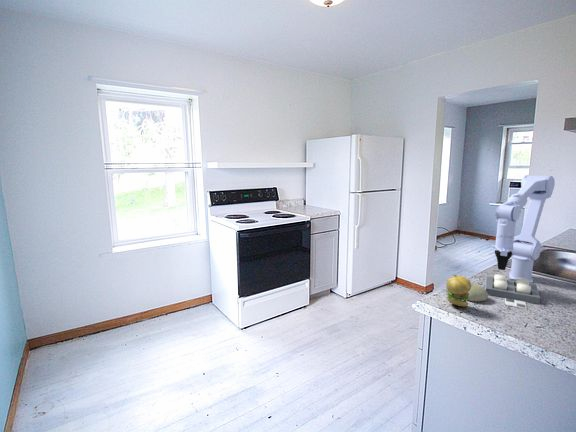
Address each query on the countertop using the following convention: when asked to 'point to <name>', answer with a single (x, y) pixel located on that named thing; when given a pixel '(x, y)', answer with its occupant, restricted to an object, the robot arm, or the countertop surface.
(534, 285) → the board
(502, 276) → the button
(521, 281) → the button
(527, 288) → the button
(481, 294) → the sea urchin shell
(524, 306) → the tile
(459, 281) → the hamburger
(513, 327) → the countertop surface
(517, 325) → the countertop surface
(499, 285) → the button
